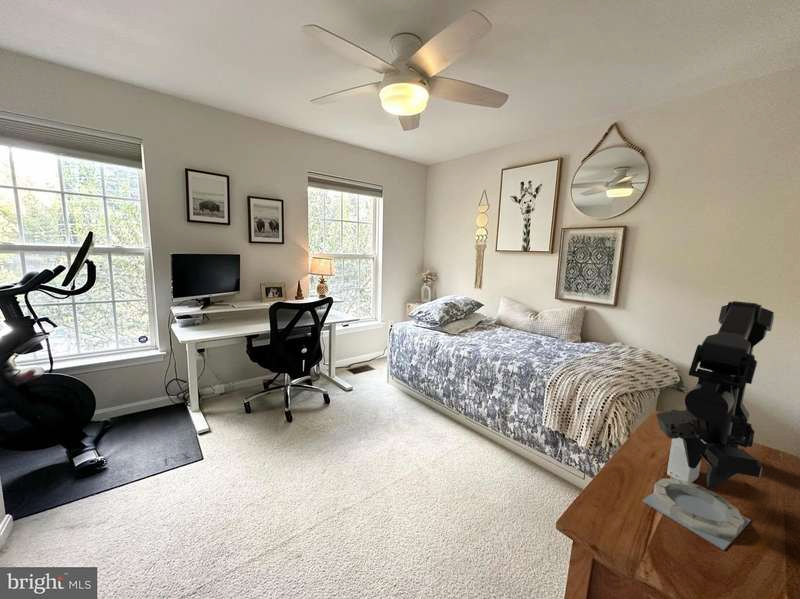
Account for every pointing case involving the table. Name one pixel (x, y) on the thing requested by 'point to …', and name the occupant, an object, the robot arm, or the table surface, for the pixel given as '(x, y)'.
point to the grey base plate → (698, 509)
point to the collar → (702, 524)
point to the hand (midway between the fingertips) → (700, 477)
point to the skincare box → (681, 463)
